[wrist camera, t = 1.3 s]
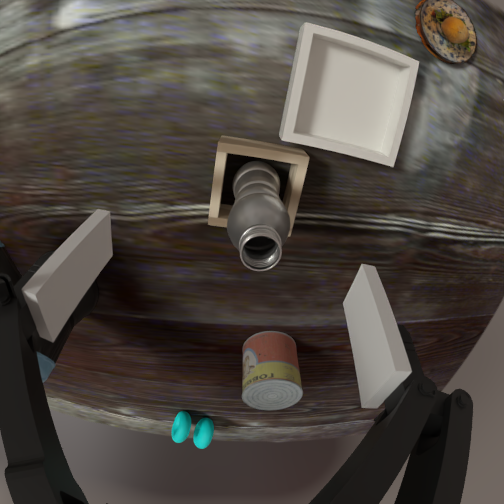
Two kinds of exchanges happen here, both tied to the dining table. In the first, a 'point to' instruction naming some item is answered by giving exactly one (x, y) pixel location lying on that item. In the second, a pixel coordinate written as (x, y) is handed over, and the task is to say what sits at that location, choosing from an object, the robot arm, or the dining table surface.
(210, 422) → the turquoise yo-yo
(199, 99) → the dining table surface
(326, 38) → the plastic tray
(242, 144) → the wooden collar
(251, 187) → the plastic bottle
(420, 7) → the patterned ceramic bowl
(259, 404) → the canned food
